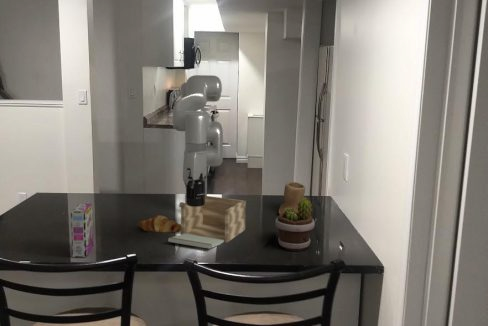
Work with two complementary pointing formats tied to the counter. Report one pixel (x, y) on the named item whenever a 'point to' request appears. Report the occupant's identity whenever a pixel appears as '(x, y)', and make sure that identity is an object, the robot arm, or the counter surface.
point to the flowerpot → (295, 226)
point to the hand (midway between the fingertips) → (195, 195)
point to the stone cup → (292, 196)
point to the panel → (196, 240)
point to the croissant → (160, 224)
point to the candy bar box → (82, 230)
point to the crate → (214, 218)
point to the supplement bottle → (198, 193)
